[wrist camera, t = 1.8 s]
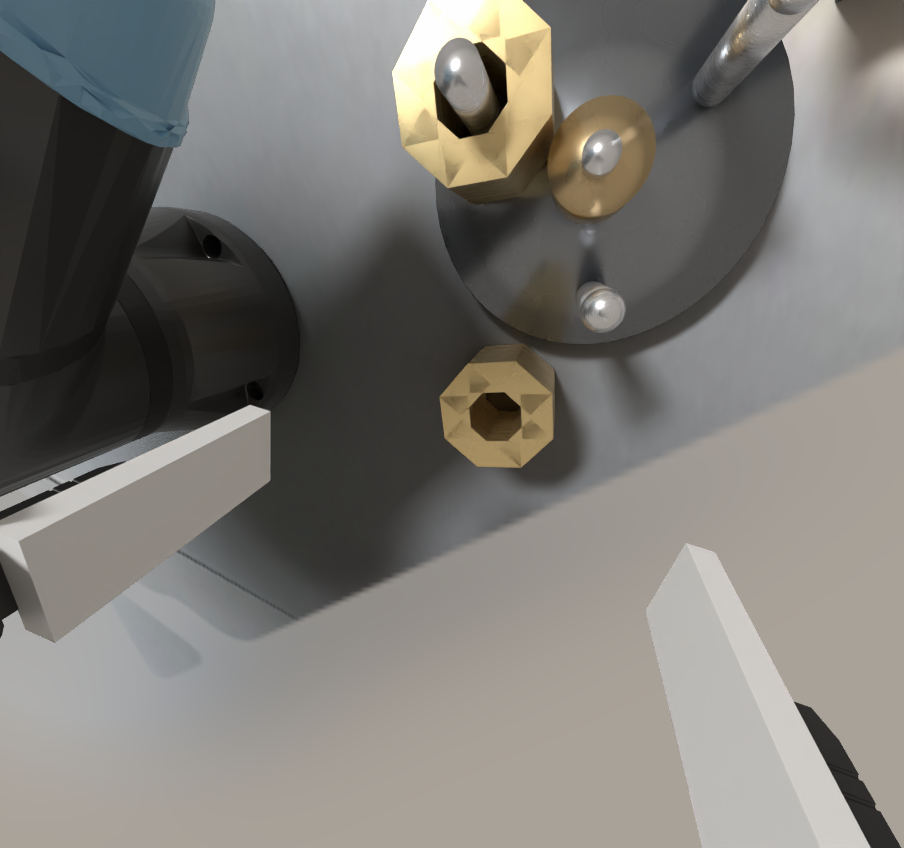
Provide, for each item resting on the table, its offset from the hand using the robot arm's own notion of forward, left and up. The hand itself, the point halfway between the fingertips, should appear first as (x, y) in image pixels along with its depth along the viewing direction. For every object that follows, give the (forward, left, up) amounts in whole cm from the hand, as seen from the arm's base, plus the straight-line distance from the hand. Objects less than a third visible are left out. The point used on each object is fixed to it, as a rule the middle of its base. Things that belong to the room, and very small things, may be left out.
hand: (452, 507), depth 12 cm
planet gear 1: (0, +13, -13) cm, 19 cm away
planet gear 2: (0, -1, -15) cm, 15 cm away
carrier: (+5, +10, -15) cm, 19 cm away
